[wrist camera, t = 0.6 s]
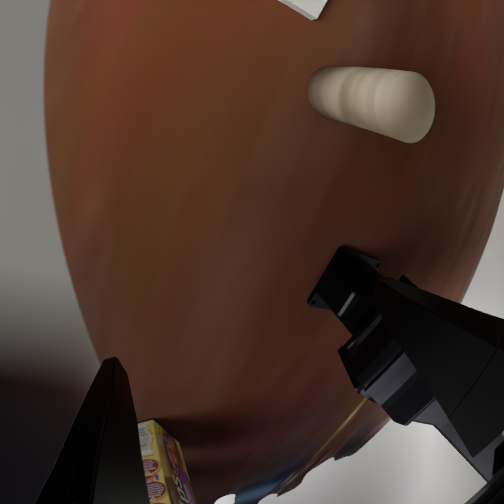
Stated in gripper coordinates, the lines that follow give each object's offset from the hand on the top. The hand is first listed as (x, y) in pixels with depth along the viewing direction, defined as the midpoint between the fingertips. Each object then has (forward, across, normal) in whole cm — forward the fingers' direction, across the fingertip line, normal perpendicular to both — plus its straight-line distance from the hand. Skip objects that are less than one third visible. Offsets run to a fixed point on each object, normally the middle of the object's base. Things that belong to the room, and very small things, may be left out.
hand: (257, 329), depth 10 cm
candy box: (+14, +12, +30) cm, 35 cm away
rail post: (+13, -11, -6) cm, 18 cm away
